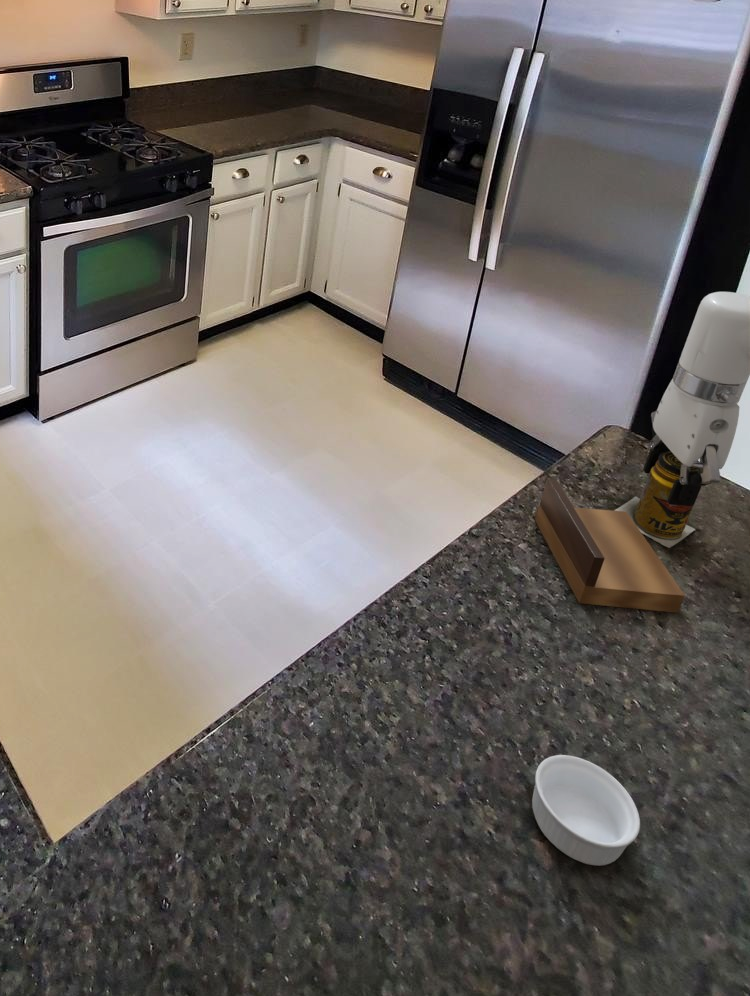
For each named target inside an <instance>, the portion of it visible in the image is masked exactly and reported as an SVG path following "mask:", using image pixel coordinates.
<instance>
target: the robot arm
mask: <svg viewBox="0 0 750 996" xmlns="http://www.w3.org/2000/svg"><path fill="white" fill-rule="evenodd" d="M687 335H688V336H687V337H686V341H685V343H684V347H683V349H682V351H681V354H680V357H679V360H678V363H677V365H676V369H675V371H674V374H673V376H672V379H671V380H670V382H669V384H668V386H667V388H666V389H665V391H664V392H663V395H662V397H661V400H660V402H659V404H658V407H657V409H656V410H655V411H652V412H651V414H650V418H651V424H652V427H651V435H652V439H651V440H650V442H649V447H650V449H649V452H648V455H647V458H646V460H645V464H644V466H643V468H642V469H643V471H644V473H645V474H648V475H649V473H650V470H651V469H652V467H654V466H655V464H656V462H657V461H658V457H659V455H660V454H661V453H663V452H665V451H671V452H672V453H673V454H674V455H675V456H676V457H677V458H678V459H679V460H680V461H681V469H680V480H679V479H675V482H674V484H673V487H672V489H671V492H670V495H669V497H668V500H667V501H668V502H669V504H671V505H682V506H693V505H695V503H696V501H697V499H698V496H699V493H700V491H701V489H702V487H706V486H708V485H712V484H717V483H720V482H721V480H722V479H721V472H720V470H722V469H723V468H724V466H725V464H726V462H727V460H728V457H729V454H730V452H731V448H732V446H733V442H734V439H735V435H736V431H737V427H738V424H739V417H740V406H739V402H740V400H741V398H742V395H743V392H744V390H745V388H746V385H747V383H748V381H749V378H750V295H747V294H744V293H740V292H733V291H715V292H711V293H708V294H707V295H705V296H704V297H703V298H702V300H701V301H700V303H699V305H698V307H697V311H696V313H695V316H694V319H693V322H692V324H691V327H690V330H689V333H688V334H687ZM695 461H699V462H695ZM690 467H695V468H698V474H694V475H690ZM693 507H694V506H693Z"/></svg>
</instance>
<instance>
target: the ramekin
mask: <svg viewBox="0 0 750 996" xmlns="http://www.w3.org/2000/svg"><path fill="white" fill-rule="evenodd" d="M531 807H532V811H533V816H534V819H535V821H536V824H537V825H538V828H539V830H541V832H542V834H543V835H544V837H546V839H547V840H548V841H549V842H550V843H551V844H552V845H553V846H555V848H557V849H558V850H559V851H561V852H562V853H563V854H565V855H566V856H568V857H569V858H571V859H573V860H575V861H577V862H580V863H583V864H586V865H590V866H607V865H610V864H612V863H614V862H615V861H616V860H617V859H619V858H620V857H621V856H622V854H623V853H624V851H625V849H626V848H627V847H628V846H629V845H631V844H632V843H633V842H634V841H635V840H636V838H637V837H638V836H639V833H640V829H641V819H640V815H639V814H640V813H639V811H638V808H637V805H636V803H635V801H634V800H633V798H632V797H631V795H630V794H629V792H628V791H627V789H626V788H625V787H624V786H623V785H622V784H621V783H620V782H619V780H617V779H616V778H615V777H614V776H613V775H612V774H611V773H609V772H608V771H607V770H605V769H604V768H602V767H601V766H599V765H597V764H595V763H593V762H591V761H589V760H586V759H585V758H581V757H578V756H574V755H568V754H567V755H566V754H557V755H552V756H548V757H547V758H544V759H543V760H542V761H541V762H540V763H539V764H538V766H537V768H536V771H535V777H534V789H533V794H532V799H531Z"/></svg>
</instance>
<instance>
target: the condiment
mask: <svg viewBox="0 0 750 996" xmlns="http://www.w3.org/2000/svg"><path fill="white" fill-rule="evenodd" d="M695 462H700V460H698V461H695ZM680 469H681V461H680V460H679V459H678V458H677V457H676V456H675V455H674V454H673V453H672V452H671V451H665V452H663V453H661V454H660V455H659V457H658V461H657V462H656V464H655V466H654V467H652V469H651V470H650V473H649V474H648V476H647V479H646V482H645V485H644V487H643V490H642V492H641V495H640V497H638V496H634V497H632V498H631V499H630V500H628V501H627V502H625V503H624V504H622V505H621V506H619V507H617V508H616V509H614V510H613V511H625V512H627V513H628V514H629V516H630V517H631V519H632V520H633V522H634V523H635V525H636V526H637V527H638V529H639V530H640V532H641V533H642V535H645V536H646V537H648V538H650V539H652V540H653V541H655V542H657V543H658V544H660V545H662V546H664V547H666V548H668V549H670V548H672V547H673V546H675V545H677V544H678V543H679V542H681V541H683V540H684V539H685V538H686V537H687V536H689V535H690V534H692V533H693V532H694V531H696V528H694V527H692V526H690V525H688V521H689V517H690V515H691V513H692V511H693V509H694V505H695V504H694V505H693V506H682V505H671V504H669V502H668V501H667V500H668V497H669V495H670V492H671V489H672V487H673V484H674V482H675V479H679V480H680ZM694 474H698V468H695V467H690V475H694Z"/></svg>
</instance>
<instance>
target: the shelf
mask: <svg viewBox="0 0 750 996" xmlns="http://www.w3.org/2000/svg"><path fill="white" fill-rule="evenodd" d="M534 521H535V524H536V525H537V527H538V529H539V531H540V533H541V534H542V536H543V539H544V540H545V542H546V544H547V546H548V547H549V550H550V552H551V553H552V555H553V558H554V559H555V561H556V563H557V564H558V566H559V568H560V570H561V572H562V574H563V576H564V578H565V579H566V581H567V583H568V585H569V587H570V589H571V591H572V593H573V594H574V596H575V598H576V600H577V602H578V604H583V605H593V606H602V607H603V606H605V607H614V608H623V609H624V608H625V609H635V610H636V609H637V610H645V611H657V612H666V613H677V614H678V613H679V612H680V609H681V607H682V605H683V602H684V600H685V597H686V595H685V594H684V592H683V591H682V589H681V588H680V586H679V585H678V583H677V582H676V581H675V579H674V578H673V576H672V574H670V572H669V570H668V569H667V567H666V566H665V565H664V563H663V562H662V561H661V559H660V557H659V556H658V555H657V553H656V552H655V550H654V548H652V546H651V544H650V543H649V542H648V540H647V539H646V537H645V536H644V534H643V533H641V532H640V530H639V529H638V527H637V526H636V525H635V523H634V522H633V520H632V519H631V517H630V516H629V514H628V513H627V512H625V511H614V510H610V509H599V508H587V507H575V506H574V505H573V504H572V501H570V499H569V497H568V496H567V494H566V492H565V490H564V489H563V487H562V486H561V484H560V482H559V481H558V479H557V478H555V477H547V478H546V481H545V485H544V488H543V491H542V496H541V498H540V501H539V505H538V508H537V511H536V514H535V519H534Z"/></svg>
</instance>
